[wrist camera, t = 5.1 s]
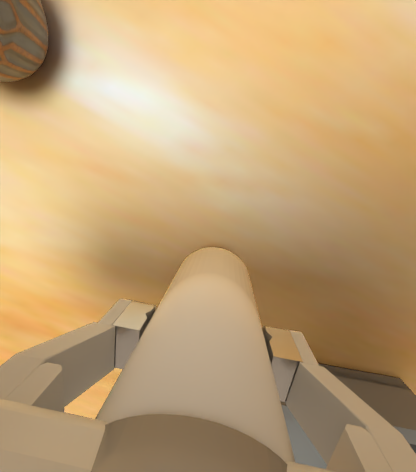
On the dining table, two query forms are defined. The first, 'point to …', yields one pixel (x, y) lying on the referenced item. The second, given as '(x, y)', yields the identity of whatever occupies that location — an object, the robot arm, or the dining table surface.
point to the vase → (21, 38)
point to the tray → (373, 394)
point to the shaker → (198, 382)
